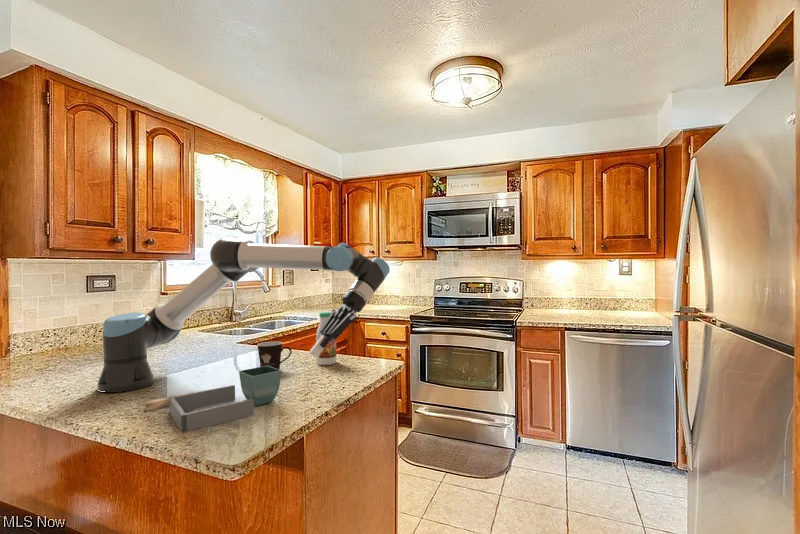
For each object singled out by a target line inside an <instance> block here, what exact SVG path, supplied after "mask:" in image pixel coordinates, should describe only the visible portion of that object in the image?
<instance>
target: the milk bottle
mask: <svg viewBox="0 0 800 534" xmlns="http://www.w3.org/2000/svg"><path fill="white" fill-rule="evenodd" d="M330 314H331V311H323V312H320V313H319V324H318V327H317V329H316V335H315V336H316V337H315V341H316V342H317V341H318V339H319V338H320V337H321V336H322V335H321V333H320V331H321V329H322V327H323V326H324V324H325V323H326V321H327V319H328V318H329V316H330ZM316 342H315V343H316ZM337 358H338V357H337V339H332V340H330V341H329V343H328V344H327V345H326V346H325V348H324V349H323V350H322V352H321V353H320V354H319V356H318V357H317V358H316V365H318V366H330V365H334V364H336V363H337V361H338V360H337Z"/></svg>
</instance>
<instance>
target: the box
mask: <svg viewBox="0 0 800 534" xmlns="http://www.w3.org/2000/svg"><path fill="white" fill-rule="evenodd" d="M189 393H190V394H187V393H184V394H185V395H182V394H179V395H180V396H177V395H173V396H174V397H171V396H168V397H169V406H168V407H169V408H168V410H169V412H168V413H169V414H170V416H171V418H172V420H173V421H174V422H175V424H176V426H177V427H178V429H179V431H180V432H181V433H182V434H183V433H188V432H191V431H195V430H200V429H203V428H207V427H210V426H211V427H212V426H215V425H219V424H223V423H227V422H230V421H235V420H239V419H243V418H246V417H251V416H254V415H255V405H254V399H253V398H252V399H243V400H239V401H235V402H231V401H234V400H236V385H235V384H232V385H225V386H220V387H216V388H211V389H206V390H205V389H204V390H201V391H195V392H194V393H192V392H189ZM229 401H230V402H231V403H225V404H221V403H224V402H229ZM215 404H221V405H216V406H213V407H212V406H211V405H215ZM207 406H211V407H208V408H203V409H198V410H195V411H190V412H185V411H188V410H193V409H197V408H202V407H207Z"/></svg>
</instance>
